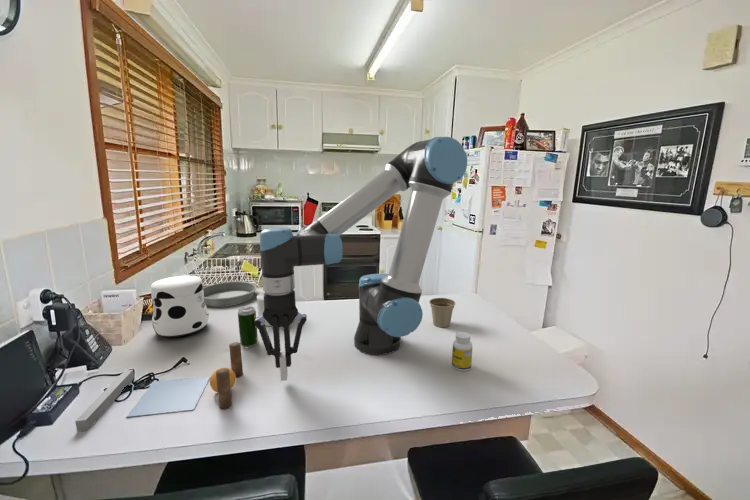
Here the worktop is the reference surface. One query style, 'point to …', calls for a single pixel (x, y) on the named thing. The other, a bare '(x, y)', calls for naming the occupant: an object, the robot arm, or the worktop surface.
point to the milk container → (178, 306)
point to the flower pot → (442, 311)
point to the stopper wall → (104, 401)
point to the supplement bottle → (462, 352)
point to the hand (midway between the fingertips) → (284, 377)
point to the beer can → (247, 326)
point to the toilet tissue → (261, 306)
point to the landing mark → (170, 396)
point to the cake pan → (216, 289)
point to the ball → (214, 382)
